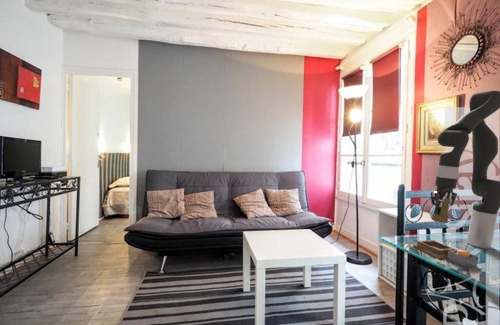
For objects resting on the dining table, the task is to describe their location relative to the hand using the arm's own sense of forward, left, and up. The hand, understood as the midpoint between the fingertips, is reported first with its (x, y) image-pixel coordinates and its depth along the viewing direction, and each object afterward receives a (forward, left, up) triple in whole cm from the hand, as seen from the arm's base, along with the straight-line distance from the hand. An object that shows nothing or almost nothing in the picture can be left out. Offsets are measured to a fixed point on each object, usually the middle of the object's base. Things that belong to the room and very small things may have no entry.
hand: (440, 214), depth 116 cm
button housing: (0, +11, -17) cm, 20 cm away
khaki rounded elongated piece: (0, 0, -3) cm, 3 cm away
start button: (0, +11, -15) cm, 19 cm away
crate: (0, 0, -17) cm, 17 cm away
